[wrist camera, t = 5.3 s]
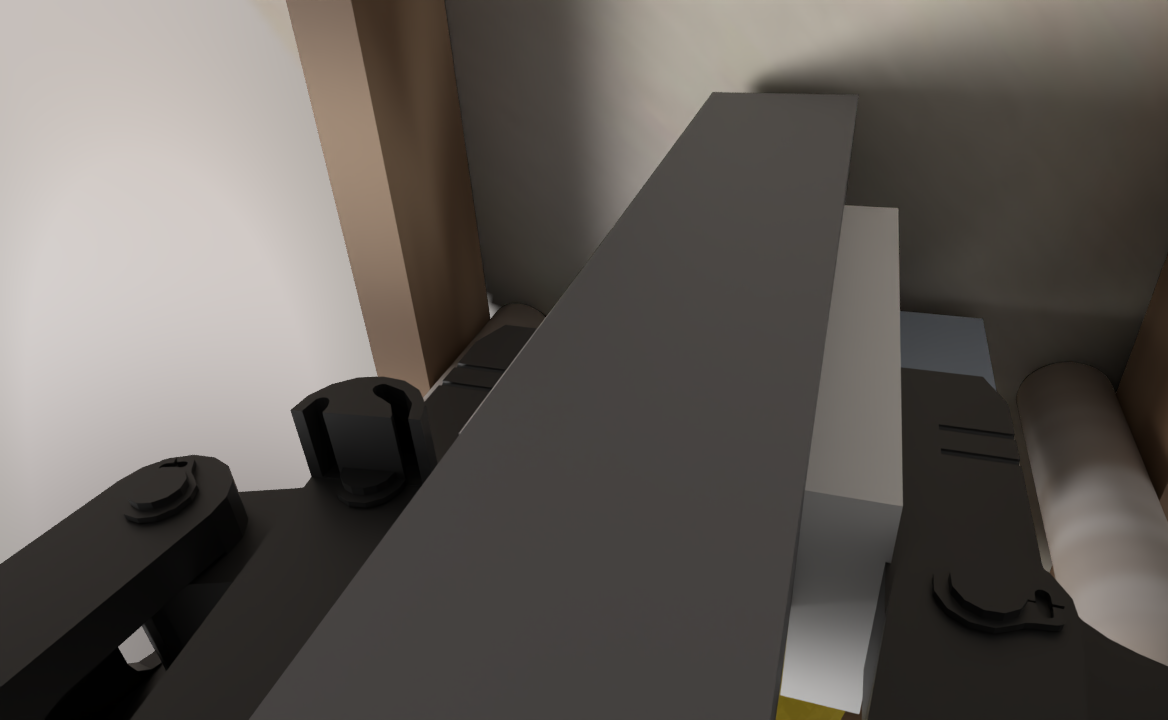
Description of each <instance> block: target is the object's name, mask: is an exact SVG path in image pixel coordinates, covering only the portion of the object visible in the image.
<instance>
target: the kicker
mask: <svg viewBox="0 0 1168 720" xmlns="http://www.w3.org/2000/svg"><path fill="white" fill-rule="evenodd" d="M858 96H859V95H845V94H784V93H723V92H713V93H712V94H711V95H710V97H709V98H708V99H707V101H706V102H705V103H704V105H703V106H702V108H701V109H700V110H699V112H698V113H697V114H696V116H695V117H694V118H693V120H692V121H691V122H690V124H689V125H688V126H687V128H686V129H685V131H684V132H683V133H682V135H681V136H680V137H679V139H678V140H677V141H676V143H675V144H674V145H673V147H672V148H671V149H670V151H669V152H668V154H667V155H666V156H665V158H664V159H663V160H662V162H661V163H660V164H659V166H658V167H657V168H656V170H655V171H654V172H653V174H652V175H651V176H650V178H649V179H648V181H647V182H646V183H645V185H644V186H643V187H642V189H641V190H640V191H639V193H638V194H637V195H636V197H635V198H634V199H633V201H632V202H631V204H630V205H629V206H628V208H627V209H626V210H625V212H624V213H623V214H622V216H621V217H620V218H619V220H618V221H617V222H616V224H615V225H614V227H613V228H612V229H611V231H610V232H609V233H608V235H607V236H606V237H605V239H604V240H603V241H602V243H601V244H600V245H599V247H598V248H597V250H596V251H595V252H594V254H593V255H592V256H591V258H590V259H589V260H588V262H587V263H586V264H585V266H584V267H583V268H582V270H581V271H580V272H579V274H578V275H577V277H576V278H575V279H574V281H573V282H572V283H571V285H570V286H569V287H568V289H567V290H566V291H565V293H564V294H563V295H562V297H561V298H560V300H559V301H558V302H557V304H556V305H555V306H554V308H553V309H552V310H551V312H550V313H549V314H548V316H547V317H546V318H545V320H544V321H543V323H542V324H541V325H540V327H539V328H538V329H537V331H536V332H535V333H534V335H533V336H532V337H531V339H530V340H529V341H528V343H527V344H526V345H525V347H524V348H523V350H522V351H521V352H520V354H519V355H518V356H517V358H516V359H515V360H514V362H513V363H512V364H511V366H510V367H509V368H508V370H507V371H506V373H505V374H504V375H503V377H502V378H501V379H500V381H499V382H498V383H497V385H496V386H495V387H494V389H493V390H492V391H491V393H490V394H489V396H488V397H487V398H486V400H485V401H484V402H483V404H482V405H481V406H480V408H479V409H478V410H477V412H476V413H475V414H474V416H473V417H472V419H471V420H470V421H469V423H468V424H467V425H466V427H465V428H464V429H463V431H462V432H461V433H460V435H459V436H458V437H457V439H456V440H455V441H454V443H453V444H452V446H451V447H450V448H449V450H448V451H447V452H446V454H445V455H444V456H443V458H442V459H441V460H440V462H439V463H438V464H437V466H436V467H435V469H434V470H433V471H432V473H431V474H430V475H429V477H428V478H427V479H426V481H425V482H424V483H423V485H422V486H421V487H420V489H419V490H418V492H417V493H416V494H415V496H414V497H413V498H412V500H411V501H410V502H409V504H408V505H407V506H406V508H405V509H404V510H403V512H402V513H401V515H400V516H399V517H398V519H397V520H396V521H395V523H394V524H393V525H392V527H391V528H390V529H389V531H388V532H387V533H386V535H385V536H384V537H383V539H382V540H381V542H380V543H379V544H378V546H377V547H376V548H375V550H374V551H373V552H372V554H371V555H370V556H369V558H368V559H367V560H366V562H365V563H364V565H363V566H362V567H361V569H360V570H359V571H358V573H357V574H356V575H355V577H354V578H353V579H352V581H351V582H350V583H349V585H348V586H347V588H346V589H345V590H344V592H343V593H342V594H341V596H340V597H339V598H338V600H337V601H336V602H335V604H334V605H333V606H332V608H331V609H330V611H329V612H328V613H327V615H326V616H325V617H324V619H323V620H322V621H321V623H320V624H319V625H318V627H317V628H316V629H315V631H314V632H313V633H312V635H311V636H310V638H309V639H308V640H307V642H306V643H305V644H304V646H303V647H302V648H301V650H300V651H299V652H298V654H297V655H296V656H295V658H294V659H293V661H292V662H291V663H290V665H289V666H288V667H287V669H286V670H285V671H284V673H283V674H282V675H281V677H280V678H279V679H278V681H277V682H276V684H275V685H274V686H273V688H272V689H271V690H270V692H269V693H268V694H267V696H266V697H265V698H264V700H263V701H262V702H261V704H260V705H259V707H258V708H257V709H256V711H255V712H254V713H253V715H252V716H251V717H250V719H249V720H776V714H777V706H778V699H779V692H780V684H781V677H782V669H783V662H784V655H785V647H786V640H787V632H788V625H789V618H790V610H791V602H792V594H793V586H794V577H795V569H796V560H797V552H798V544H799V535H800V527H801V519H802V510H803V502H804V493H805V486H806V478H807V471H808V464H809V457H810V450H811V442H812V435H813V428H814V421H815V413H816V406H817V399H818V392H819V385H820V377H821V370H822V363H823V356H824V348H825V341H826V334H827V327H828V320H829V312H830V305H831V298H832V291H833V283H834V276H835V269H836V262H837V255H838V247H839V240H840V233H841V226H842V218H843V211H844V205H845V201H846V193H847V185H848V177H849V169H850V161H851V153H852V145H853V137H854V128H855V120H856V112H857V104H858ZM900 353H901V367H903V368H912V369H920V370H929V371H938V372H947V373H955V374H964V375H973V376H982V377H984V378H985V379H986V381H987V382H988V383H989V384H990V385H991V386H992V387H993V388H994V389H995V390H996V386H995V381H994V375H993V370H992V365H991V359H990V354H989V349H988V344H987V338H986V333H985V328H984V322H983V319H980V318H969V317H959V316H948V315H937V314H927V313H916V312H906V311H900ZM996 392H997V391H996Z"/></svg>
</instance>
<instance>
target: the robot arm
mask: <svg viewBox="0 0 1168 720" xmlns="http://www.w3.org/2000/svg"><path fill="white" fill-rule="evenodd" d="M576 277H577V276H576ZM573 281H574V280H573ZM570 285H571V284H570ZM567 289H568V288H567ZM564 293H565V292H564ZM561 297H562V296H561ZM559 300H560V299H559ZM559 300H558V301H559ZM556 304H557V303H556ZM556 304H555V305H556ZM553 308H554V307H553ZM553 308H552V309H553ZM550 312H551V311H550ZM550 312H549V313H550ZM547 316H548V315H547ZM547 316H546V317H547ZM544 320H545V319H544ZM544 320H543V321H544ZM542 323H543V322H542ZM542 323H541V324H542ZM541 324H540V325H541ZM539 327H540V326H539ZM539 327H538V328H539ZM538 328H530V327H521V326H512V325H504V326H502V327H501V328H499V329H497V330H495V331H494V332H492V333H490V334H488V335H487V336H485V337H483V338H481V339H480V340H478V341H476V342H475V343H474V344H473V346H472V347H471V348H470V349H469V350H468V351H467V353H466V354H465V355H464V356H463V357H462V358H461V360H460V361H459V362H458V366H457V367H454V368H453V369H452V370H451V371H450V372H449V374H448V375H447V376H446V377H445V378H444V379H443V383H442V385H438V386H437V388H436V389H435V390H434V391H433V392H432V393H431V395H430V396H429V397H428V398H427V399H426V400H425V402H424V399H423V397H422V394H421V392H420V390H419V389H417V388H416V387H414V386H412V385H411V384H409V383H408V382H406V381H404V380H399V379H394V378H389V377H384V376H382V377H363V378H355V379H351V380H347V381H343V382H339V383H335V384H331V385H329V386H327V387H325V388H323V389H321V390H319V391H317V392H315V393H313V394H310V395H308V396H307V397H306V398H305V399H303V401H301V402H300V403H299V404H297V405H296V406H295V407H294V408H293V409H291V413H292V416H293V419H294V423H295V426H296V429H297V432H298V435H299V438H300V442H301V445H302V448H303V451H304V454H305V457H306V460H307V464H308V467H309V470H310V473H311V476H312V477H311V478H310V480H309V481H308V483H307V484H306V485H305V487H303V488H295V489H279V490H264V491H248V492H238V489H237V487H236V484H235V482H234V479H233V476H232V474H231V471H230V469H229V466H228V465H226V464H224V463H223V462H221V461H220V460H218V459H216V458H214V457H206V456H198V455H190V456H183V457H175V458H169V459H165V460H162V461H160V462H157V463H154V464H151V465H148V466H145V467H143V468H141V469H139V470H137V471H135V472H134V473H132V474H130V475H128V476H127V477H125V478H123V479H121V480H119V481H118V482H116V483H115V484H114V485H112V486H111V487H109V488H108V489H107V490H105V491H104V492H102V493H101V494H99V495H98V496H96V497H95V498H94V499H92V500H91V501H89V502H88V503H87V504H85V505H84V506H82V507H81V508H80V509H78V510H77V511H75V512H74V513H72V514H71V515H69V516H68V517H67V518H65V519H64V520H62V521H61V522H60V523H58V524H57V525H55V526H54V527H52V528H51V529H50V530H48V531H47V532H45V533H44V534H43V535H41V536H40V537H38V538H37V539H35V540H34V541H33V542H31V543H30V544H28V545H27V546H25V547H24V548H23V549H21V550H20V551H18V552H17V553H16V554H14V555H13V556H11V557H10V558H9V559H7V560H6V561H4V562H3V563H1V564H0V720H249V719H250V717H251V716H252V715H253V713H254V712H255V711H256V709H257V708H258V707H259V705H260V704H261V702H262V701H263V700H264V698H265V697H266V696H267V694H268V693H269V692H270V690H271V689H272V688H273V686H274V685H275V684H276V682H277V681H278V679H279V678H280V677H281V675H282V674H283V673H284V671H285V670H286V669H287V667H288V666H289V665H290V663H291V662H292V661H293V659H294V658H295V656H296V655H297V654H298V652H299V651H300V650H301V648H302V647H303V646H304V644H305V643H306V642H307V640H308V639H309V638H310V636H311V635H312V633H313V632H314V631H315V629H316V628H317V627H318V625H319V624H320V623H321V621H322V620H323V619H324V617H325V616H326V615H327V613H328V612H329V611H330V609H331V608H332V606H333V605H334V604H335V602H336V601H337V600H338V598H339V597H340V596H341V594H342V593H343V592H344V590H345V589H346V588H347V586H348V585H349V583H350V582H351V581H352V579H353V578H354V577H355V575H356V574H357V573H358V571H359V570H360V569H361V567H362V566H363V565H364V563H365V562H366V560H367V559H368V558H369V556H370V555H371V554H372V552H373V551H374V550H375V548H376V547H377V546H378V544H379V543H380V542H381V540H382V539H383V537H384V536H385V535H386V533H387V532H388V531H389V529H390V528H391V527H392V525H393V524H394V523H395V521H396V520H397V519H398V517H399V516H400V515H401V513H402V512H403V510H404V509H405V508H406V506H407V505H408V504H409V502H410V501H411V500H412V498H413V497H414V496H415V494H416V493H417V492H418V490H419V489H420V487H421V486H422V485H423V483H424V482H425V481H426V479H427V478H428V477H429V475H430V474H431V473H432V471H433V470H434V469H435V467H436V466H437V464H438V463H439V462H440V460H441V459H442V458H443V456H444V455H445V454H446V452H447V451H448V450H449V448H450V447H451V446H452V444H453V443H454V441H455V440H456V439H457V437H458V436H459V435H460V433H461V432H462V431H463V429H464V428H465V427H466V425H467V424H468V423H469V421H470V420H471V419H472V417H473V416H474V414H475V413H476V412H477V410H478V409H479V408H480V406H481V405H482V404H483V402H484V401H485V400H486V398H487V397H488V396H489V394H490V393H491V391H492V390H493V389H494V387H495V386H496V385H497V383H498V382H499V381H500V379H501V378H502V377H503V375H504V374H505V373H506V371H507V370H508V368H509V367H510V366H511V364H512V363H513V362H514V360H515V359H516V358H517V356H518V355H519V354H520V352H521V351H522V350H523V348H524V347H525V345H526V344H527V343H528V341H529V340H530V339H531V337H532V336H533V335H534V333H535V332H536V331H537V329H538ZM1019 461H1020V458H1019V453H1018V449H1017V444H1016V440H1014V430H1013V425H1012V420H1011V415H1010V411H1009V406H1008V404H1007V402H1006V401H1005V400H1004V399H1003V398H1002V397H1001V396H1000V395H999V394H998V393H997V392H996V390H995V389H994V388H993V387H992V386H991V385H990V384H989V383H988V382H987V381H986V379H985V378H984V377H982V376H973V375H964V374H955V373H947V372H938V371H929V370H920V369H912V368H903V367H901V353H900V288H899V223H898V208H885V207H868V206H850V205H844V211H843V218H842V226H841V233H840V240H839V247H838V255H837V262H836V269H835V276H834V283H833V291H832V298H831V305H830V312H829V320H828V327H827V334H826V341H825V348H824V356H823V363H822V370H821V377H820V385H819V392H818V399H817V406H816V413H815V421H814V428H813V435H812V442H811V450H810V457H809V464H808V471H807V478H806V486H805V493H804V502H803V510H802V519H801V527H800V535H799V544H798V552H797V560H796V569H795V577H794V586H793V594H792V602H791V610H790V618H789V626H788V634H787V643H786V651H785V660H784V668H783V676H782V685H781V693H780V695H782V696H786V697H790V698H794V699H798V700H802V701H806V702H811V703H815V704H819V705H823V706H827V707H831V708H835V709H839V710H843V711H848V712H852V713H856V714H859V713H860V708H861V703H862V720H1168V666H1166V665H1164V664H1162V663H1159V662H1157V661H1155V660H1152V659H1150V658H1148V657H1145V656H1143V655H1140V654H1138V653H1136V652H1134V651H1132V650H1130V649H1128V648H1126V647H1124V646H1122V645H1120V644H1119V643H1117V642H1115V641H1113V640H1111V639H1109V638H1107V637H1106V636H1104V635H1103V634H1102V633H1100V632H1099V631H1097V630H1096V629H1094V628H1093V627H1091V626H1090V625H1088V624H1087V623H1086V622H1084V621H1083V620H1082V619H1081V618H1080V617H1079V616H1078V613H1077V610H1076V607H1075V604H1074V601H1073V599H1072V598H1071V597H1070V595H1069V594H1068V593H1067V592H1066V591H1065V590H1064V588H1063V587H1062V586H1061V585H1060V584H1059V583H1058V582H1057V580H1056V579H1055V578H1054V577H1053V576H1052V575H1051V574H1050V573H1049V572H1047V571H1046V570H1044V568H1043V566H1042V563H1041V558H1040V553H1039V548H1038V544H1037V539H1036V534H1035V529H1034V525H1033V520H1032V515H1031V510H1030V506H1029V501H1028V496H1027V491H1026V487H1025V482H1024V477H1023V472H1022V468H1021V466H1019ZM141 626H142V627H143V629H144V631H145V633H146V634H147V636H148V638H149V640H150V642H151V644H152V645H153V648H154V649H155V651H154V652H153V653H152V654H150V655H149V656H147V657H146V658H144V659H143V660H141V661H140V662H137V663H129V664H127V662H126V660H125V659H124V657H123V655H122V653H121V652H120V650H119V648H118V646H119V645H121V644H122V643H123V642H124V641H125V640H126V639H127V638H128V637H130V636H131V635H132V634H133V633H134V632H135V631H136V630H137V629H139V628H140V627H141Z"/></svg>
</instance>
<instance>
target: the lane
mask: <svg viewBox="0 0 1168 720" xmlns="http://www.w3.org/2000/svg"><path fill="white" fill-rule="evenodd" d="M286 3H287V7H288V11H289V15H290V19H291V23H292V27H293V31H294V35H295V39H296V43H297V48H298V52H299V56H300V60H301V64H302V68H303V72H304V76H305V80H306V84H307V89H308V93H309V96H310V101H311V105H312V109H313V113H314V117H315V121H316V125H317V129H318V133H319V138H320V142H321V146H322V150H323V154H324V158H325V162H326V166H327V170H328V175H329V179H330V183H331V187H332V191H333V195H334V199H335V203H336V207H337V211H338V215H339V219H340V224H341V228H342V232H343V236H344V240H345V244H346V248H347V252H348V256H349V261H350V264H351V269H352V273H353V277H354V281H355V285H356V289H357V293H358V297H359V302H360V306H361V309H362V314H363V318H364V322H365V326H366V330H367V334H368V338H369V342H370V347H371V351H372V355H373V359H374V363H375V367H376V371H377V375H378V377H382V376H384V377H389V378H394V379H399V380H404V381H406V382H408V383H409V384H411V385H412V386H414V387H416V388H417V389H419V390H420V392H421V394H422V397H423V399H424V402H425V400H426V399H427V398H428V397H429V396H430V395H431V393H432V392H433V391H434V390H435V389H436V388H437V386H438V385H442V383H443V379H444V378H445V377H446V376H447V375H448V374H449V372H450V371H451V370H452V369H453V368H454V367H457V366H458V362H459V361H460V360H461V358H462V357H463V356H464V355H465V354H466V353H467V351H468V350H469V349H470V348H471V347H472V346H473V344H474V343H475V342H476V341H478V340H480V339H481V338H483V337H485V336H487V335H488V334H490V333H492V332H494V331H495V330H497V329H499V328H501V327H502V326H504V325H512V326H521V327H530V328H538V327H539V326H540V324H541V323H542V322H543V320H544V319H545V318H546V317H545V316H544V315H543V314H542V313H540V312H539V311H538V310H536V309H534V308H532V307H530V306H528V305H524V304H516V303H515V304H508V305H505V306H503V307H501V308H500V309H499V310H498V311H497V312H496V313H495V314H494V316H493V317H492V318H491V319H490V313H489V306H488V299H487V292H486V285H485V278H484V272H483V265H482V258H481V251H480V244H479V237H478V230H477V223H476V216H475V209H474V202H473V195H472V188H471V182H470V175H469V168H468V161H467V154H466V147H465V140H464V133H463V126H462V119H461V112H460V105H459V99H458V92H457V85H456V78H455V71H454V64H453V57H452V50H451V43H450V36H449V29H448V22H447V15H446V9H445V2H444V0H286ZM1017 407H1018V411H1019V416H1020V420H1021V425H1022V429H1023V434H1024V438H1025V443H1026V447H1027V452H1028V456H1029V461H1030V465H1031V470H1032V474H1033V479H1034V483H1035V488H1036V492H1037V497H1038V501H1039V506H1040V510H1041V515H1042V519H1043V524H1044V528H1045V533H1046V537H1047V542H1048V546H1049V551H1050V556H1051V560H1052V568H1051V571H1050V574H1051V575H1052V576H1053V577H1054V578H1055V579H1056V580H1057V582H1058V583H1059V584H1060V585H1061V586H1062V587H1063V588H1064V590H1065V591H1066V592H1067V593H1068V594H1069V595H1070V597H1071V598H1072V599H1073V601H1074V604H1075V607H1076V610H1077V613H1078V616H1079V617H1080V618H1081V619H1082V620H1083V621H1084V622H1086V623H1087V624H1088V625H1090V626H1091V627H1093V628H1094V629H1096V630H1097V631H1099V632H1100V633H1102V634H1103V635H1104V636H1106V637H1107V638H1109V639H1111V640H1113V641H1115V642H1117V643H1119V644H1120V645H1122V646H1124V647H1126V648H1128V649H1130V650H1132V651H1134V652H1136V653H1138V654H1140V655H1143V656H1145V657H1148V658H1150V659H1152V660H1155V661H1157V662H1159V663H1162V664H1164V665H1166V666H1168V254H1167V257H1166V260H1165V262H1164V265H1163V268H1162V271H1161V273H1160V276H1159V279H1158V281H1157V284H1156V287H1155V289H1154V292H1153V295H1152V298H1151V300H1150V303H1149V306H1148V308H1147V311H1146V314H1145V317H1144V319H1143V322H1142V325H1141V327H1140V330H1139V333H1138V335H1137V338H1136V341H1135V344H1134V346H1133V349H1132V352H1131V354H1130V357H1129V360H1128V362H1127V365H1126V368H1125V371H1124V373H1123V376H1122V379H1121V381H1120V384H1119V387H1118V390H1117V392H1116V394H1115V391H1114V389H1113V386H1112V384H1111V382H1110V380H1109V379H1108V378H1107V377H1106V376H1105V375H1104V374H1103V373H1102V372H1101V371H1099V370H1098V369H1096V368H1094V367H1091V366H1089V365H1085V364H1081V363H1073V362H1063V363H1056V364H1051V365H1048V366H1045V367H1043V368H1040V369H1038V370H1037V371H1035V372H1033V373H1032V374H1031V375H1029V376H1028V377H1027V378H1026V379H1025V380H1024V381H1023V383H1022V384H1021V386H1020V387H1019V390H1018V392H1017ZM841 720H862V703H861V708H860V713H859V714H856V713H852V712H848V711H845V713H844V715H843V717H842V718H841Z"/></svg>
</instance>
